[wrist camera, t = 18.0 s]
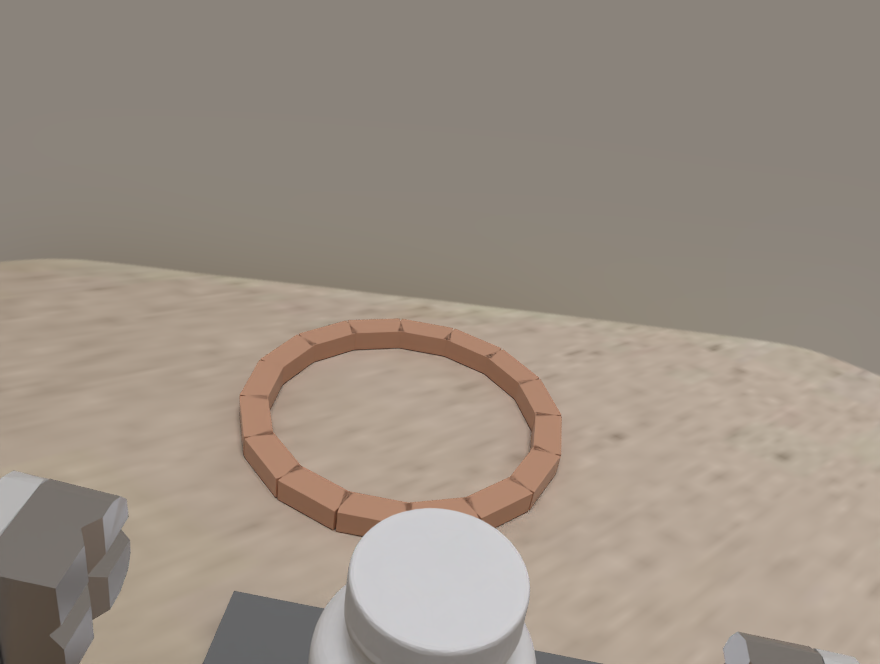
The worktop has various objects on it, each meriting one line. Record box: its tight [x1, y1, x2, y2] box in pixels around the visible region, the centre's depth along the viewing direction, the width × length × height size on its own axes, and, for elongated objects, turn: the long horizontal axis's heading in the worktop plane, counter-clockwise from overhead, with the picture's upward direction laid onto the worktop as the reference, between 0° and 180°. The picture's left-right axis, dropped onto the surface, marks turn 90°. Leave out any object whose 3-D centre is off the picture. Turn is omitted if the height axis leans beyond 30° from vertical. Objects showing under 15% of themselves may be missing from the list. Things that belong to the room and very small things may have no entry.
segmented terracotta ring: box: [240, 319, 562, 536], centre depth 38 cm, size 14×14×1 cm
